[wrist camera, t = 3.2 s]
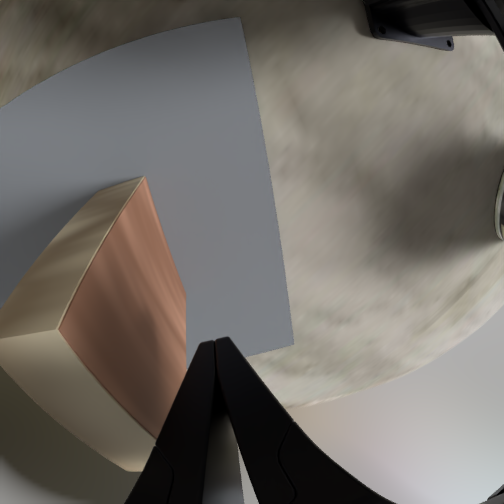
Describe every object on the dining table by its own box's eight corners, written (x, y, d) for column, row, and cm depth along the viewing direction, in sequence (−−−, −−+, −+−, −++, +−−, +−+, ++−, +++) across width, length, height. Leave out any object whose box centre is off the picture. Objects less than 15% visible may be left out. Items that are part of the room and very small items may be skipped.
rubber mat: (239, 19, 10) (240, 16, 9) (292, 340, 20) (294, 344, 20) (-60, 161, 9) (-63, 163, 8) (60, 380, 19) (59, 384, 18)
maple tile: (145, 175, 12) (57, 329, 4) (186, 294, 16) (193, 468, 7) (98, 191, 12) (-19, 341, 4) (145, 303, 16) (127, 471, 7)
